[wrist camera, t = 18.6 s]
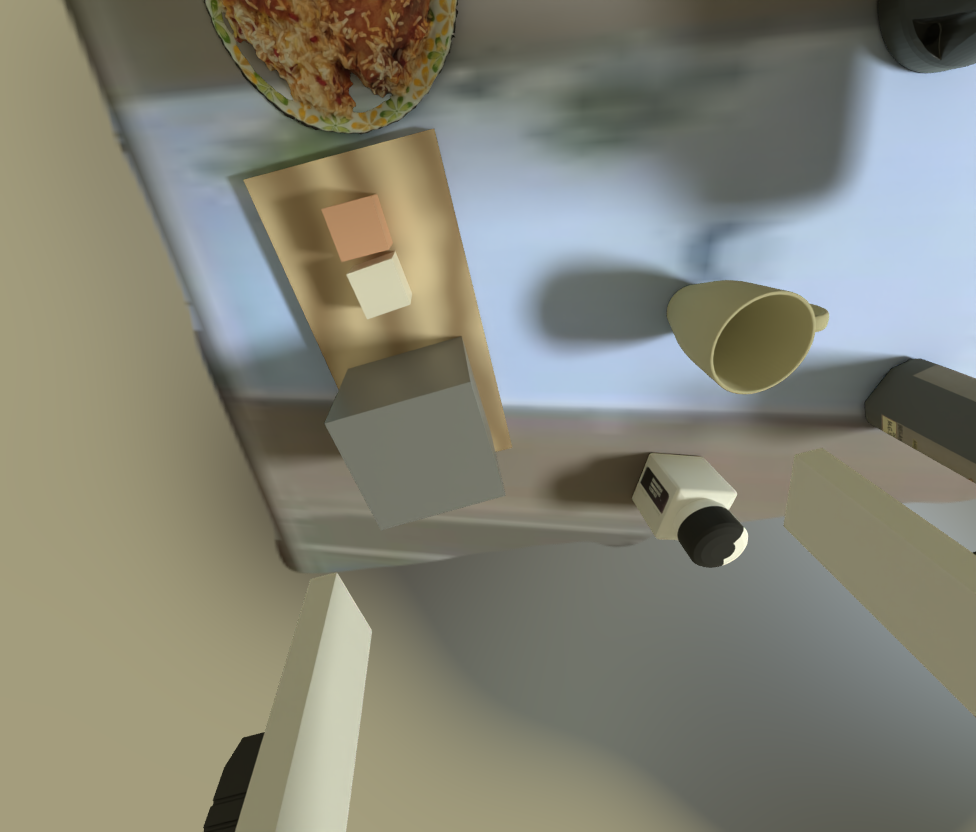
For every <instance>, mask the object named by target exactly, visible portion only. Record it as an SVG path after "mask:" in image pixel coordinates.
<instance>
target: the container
mask: <svg viewBox="0 0 976 832" xmlns="http://www.w3.org/2000/svg"><path fill="white" fill-rule="evenodd" d="M736 496H737V493H736V491H735V490H734V489H733V488H732V487H731V486H730V485H729V484H728V483H727V482H726V481H725V480H724V479H723V478H722V477H721V475H720V474H719V473H718V472H717V471H716V470H715V469H714V468H713V467H712V466H711V465H710V464H709V463H708V462H707V461H706V460H705V459H704V458H703V457H698V456H685V455H672V454H659V453H651V454H650V455H649V457H648V459H647V462H646V464H645V467H644V469H643V472H642V474H641V477H640V479H639V482H638V484H637V487H636V489H635V492H634V494H633V497H632V500H633V502H634V503H635V505H636V506H637V508H638V510H639V511H640V513H641V515H642V516H643V518H644V519H645V521H646V523H647V524H648V526H649V527H650V529H651V531H652V532H653V534H654V535H655V537H656V538H657V539H667V540H679V542H680V544H681V545H682V547H683V548H684V550H685V551H686V552H687V554H688V555H689V557H690V558H691V560H692V561H693V562H694V563H695V564H697V565H699V566H703V567H709V568H712V567H719V566H722V565H725V564H727V563H729V562H731V561H733V560H734V559H736V558H737V557H738V556H739V555H740V554H741V553H742V552H743V551H744V549H745V547H746V545H747V541H748V533H747V531H746V529H745V528H744V527H743V526H742V525H741V523H740V522H739V521H738V520H737V519H736V518H735V517H734V515H733V514H732V513H731V512H730V511H729V509H730V507H731V505H732V503H733V501H734V499H735V498H736Z"/></svg>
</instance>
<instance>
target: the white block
mask: <svg viewBox="0 0 976 832" xmlns="http://www.w3.org/2000/svg"><path fill="white" fill-rule="evenodd" d="M346 275H347V277H348V279H349V281H350V284H351V286H352V288H353V290H354V292H355V294H356V297H357V299H358V301H359V303H360V305H361V307H362V309H363V312H364V314H365V316H366V318H367V319H370V318H373V317H376V316H379V315H382V314H385V313H388V312H391V311H393V310H396V309H399V308H402V307H405V306H408V305H410V304H411V298H412V292H411V289H410V287H409V284H408V282H407V279H406V277H405V274H404V272H403V269H402V267H401V264H400V262H399V259H398V257H397V254H396V251H394V252H391V253H389V254H386V255H383V256H380V257H377V258H374V259H371V260H368V261H366V262H363V263H360V264H357V265H354V266H353V267H352V268H351V269H350V271H349V272H348V273H347V274H346Z"/></svg>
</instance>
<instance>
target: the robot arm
mask: <svg viewBox="0 0 976 832" xmlns="http://www.w3.org/2000/svg"><path fill="white" fill-rule="evenodd" d="M878 14H879V23H880V29H881V33H882V36H883V39H884V42H885V44H886V46H887V48H888V50H889V52H890V53H891V55H892V56H893V57H894V58H895V59H896V60H897V61H898V62H899V63H900V64H901V65H903V66H904V67H906V68H908V69H910V70H913V71H916V72H921V73H936V72H942V71H947V70H951V69H956V68H961V67H966V66H969V65H972V64H975V63H976V0H878ZM784 527H785V528H786V529H787V530H788V531H789V532H790V533H791V534H792V535H793V536H794V537H795V538H796V539H797V540H798V541H799V542H800V543H801V544H802V545H803V546H804V547H805V548H806V549H807V550H808V551H809V552H810V553H811V554H812V555H813V556H814V557H815V558H816V559H817V560H818V561H819V562H820V563H821V564H822V565H823V566H824V567H825V568H826V569H827V570H828V571H829V572H830V573H831V574H832V575H833V576H834V577H835V578H836V579H837V580H838V581H839V582H840V583H841V584H842V585H843V586H844V587H845V588H846V589H847V590H848V591H849V592H850V593H851V594H852V595H854V597H855V598H856V599H857V600H858V601H859V602H860V603H861V604H862V605H863V606H864V607H865V608H866V609H867V610H868V611H869V612H870V613H872V615H873V616H874V617H875V618H876V619H877V620H878V621H880V622H881V624H882V625H884V627H885V628H887V630H888V631H889V632H891V634H892V635H894V636H895V638H896V639H898V641H900V642H901V644H902V645H903V646H905V647H906V649H907V650H909V651H910V652H911V653H912V654H913V655H914V656H915V657H916V658H917V659H918V660H919V661H920V662H921V663H922V664H923V665H924V666H925V667H926V668H927V669H928V670H929V671H930V672H931V673H932V674H933V675H934V676H935V677H936V678H937V679H938V680H939V681H940V682H941V683H942V684H943V685H944V686H945V687H946V688H947V689H948V690H949V691H950V692H951V693H952V694H953V695H954V696H955V697H956V698H957V699H958V700H959V701H960V702H961V703H962V704H963V705H964V706H965V707H966V708H967V709H968V710H969V711H970V712H971V713H972V714H973V715H974V716H975V717H976V552H973V553H972V552H970V551H969V550H968V549H966V548H965V547H963V546H962V545H960V544H959V543H958V542H956V541H955V540H953V539H952V538H950V537H949V536H948V535H946V534H944V533H943V532H942V531H940V530H939V529H937V528H936V527H935V526H933V525H932V524H930V523H929V522H927V521H926V520H925V519H923V518H922V517H920V516H919V515H917V514H916V513H915V512H913V511H912V510H910V509H909V508H907V507H906V506H905V505H903V504H902V503H900V502H899V501H897V500H896V499H895V498H893V497H892V496H890V495H889V494H887V493H886V492H884V491H883V490H882V489H880V488H879V487H877V486H876V485H874V484H873V483H872V482H870V481H869V480H867V479H866V478H864V477H863V476H862V475H860V474H859V473H857V472H856V471H854V470H853V469H851V468H850V467H849V466H847V465H846V464H844V463H843V462H841V461H840V460H839V459H837V458H836V457H834V456H833V455H831V454H830V453H829V452H827V451H826V450H824V449H823V448H820V449H816V450H812V451H808V452H804V453H800V454H796V455H795V457H794V463H793V470H792V476H791V482H790V488H789V495H788V501H787V507H786V514H785V520H784ZM371 634H372V630H371V628H370V627H369V625H368V623H367V622H366V620H365V619H364V617H363V615H362V613H361V612H360V610H359V608H358V607H357V605H356V604H355V602H354V600H353V598H352V597H351V595H350V594H349V592H348V590H347V589H346V587H345V585H344V584H343V582H342V580H341V579H340V577H339V575H338V574H337V572H336V573H332V574H328V575H325V576H320V577H317V578H313V579H310V582H309V586H308V589H307V592H306V596H305V599H304V603H303V606H302V609H301V612H300V616H299V619H298V623H297V626H296V629H295V632H294V636H293V639H292V643H291V646H290V649H289V653H288V656H287V659H286V663H285V666H284V669H283V673H282V676H281V680H280V683H279V686H278V689H277V693H276V696H275V699H274V703H273V706H272V709H271V713H270V716H269V720H268V723H267V726H266V730H265V732H264V733H260V734H256V735H252V736H248V737H244V738H242V740H241V742H240V743H239V745H238V747H237V748H236V750H235V751H234V753H233V754H232V756H231V758H230V759H229V761H228V762H227V764H226V766H225V767H224V770H223V773H222V776H221V778H220V782H219V784H218V787H217V790H216V793H215V796H214V799H213V801H214V803H213V806H212V807H210V810H209V813H208V816H207V819H206V821H205V824H204V827H203V828H204V832H346V827H347V819H348V812H349V804H350V796H351V788H352V781H353V773H354V766H355V758H356V749H357V742H358V734H359V726H360V719H361V712H362V704H363V695H364V688H365V681H366V673H367V665H368V657H369V650H370V642H371Z"/></svg>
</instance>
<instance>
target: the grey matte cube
mask: <svg viewBox="0 0 976 832" xmlns="http://www.w3.org/2000/svg"><path fill="white" fill-rule="evenodd" d="M324 424H325V426H326V428H327V430H328V431H329V433H330V435H331V437H332V439H333V441H334V443H335V445H336V446H337V448H338V450H339V452H340V454H341V456H342V458H343V460H344V462H345V463H346V465H347V467H348V469H349V471H350V473H351V475H352V477H353V479H354V480H355V482H356V484H357V486H358V488H359V490H360V492H361V494H362V496H363V497H364V499H365V501H366V503H367V505H368V507H369V509H370V511H371V513H372V514H373V516H374V518H375V520H376V522H377V524H378V526H379V528H380V530H384V529H387V528H391V527H395V526H398V525H402V524H405V523H409V522H413V521H416V520H420V519H423V518H427V517H430V516H434V515H438V514H441V513H445V512H448V511H452V510H456V509H459V508H463V507H466V506H470V505H474V504H477V503H481V502H484V501H488V500H491V499H495V498H499V497H502V496H506V495H505V491H504V486H503V482H502V478H501V473H500V469H499V465H498V461H497V456H496V452H495V448H494V443H493V439H492V435H491V431H490V428H489V424H488V421H487V418H486V415H485V411H484V408H483V405H482V401H481V398H480V395H479V391H478V388H477V385H476V381H475V378H474V375H473V372H472V368H471V365H470V362H469V358H468V355H467V352H466V348H465V345H464V342H463V338H462V336H460V337H457V338H453V339H450V340H446V341H443V342H439V343H436V344H432V345H429V346H426V347H422V348H419V349H415V350H412V351H408V352H405V353H401V354H398V355H394V356H391V357H387V358H384V359H381V360H377V361H374V362H370V363H367V364H363V365H360V366H356V367H353V368H349V369H348V370H347V372H346V374H345V377H344V379H343V381H342V384H341V386H340V388H339V391H338V393H337V395H336V398H335V400H334V402H333V405H332V407H331V409H330V412H329V414H328V416H327V419H326V421H325V423H324Z"/></svg>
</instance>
